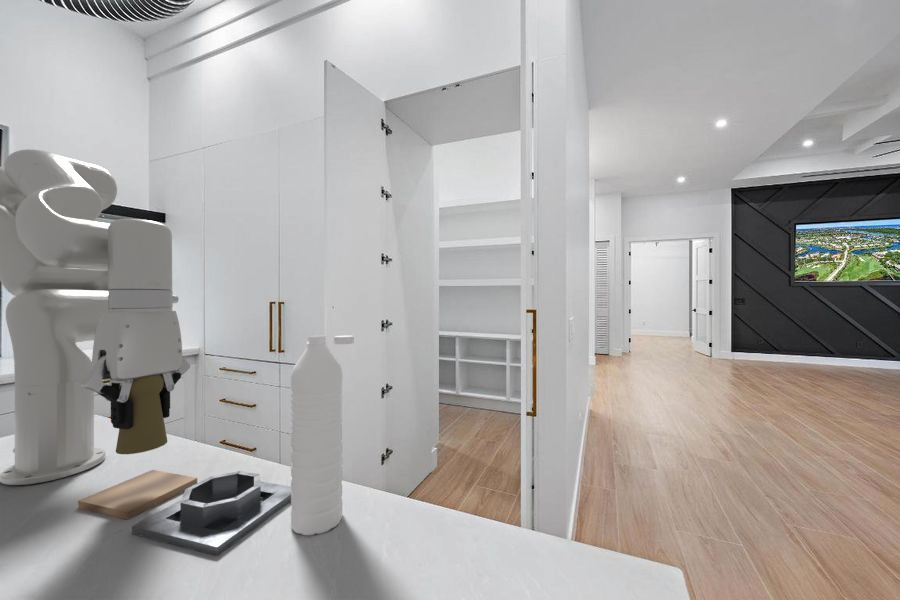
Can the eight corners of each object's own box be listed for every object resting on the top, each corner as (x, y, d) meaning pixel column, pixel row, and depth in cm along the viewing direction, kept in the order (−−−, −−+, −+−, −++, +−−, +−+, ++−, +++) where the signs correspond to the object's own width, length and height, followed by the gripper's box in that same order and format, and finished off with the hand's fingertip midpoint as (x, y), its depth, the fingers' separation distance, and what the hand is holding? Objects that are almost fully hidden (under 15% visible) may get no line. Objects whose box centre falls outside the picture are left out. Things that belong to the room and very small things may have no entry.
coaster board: (78, 507, 52) (78, 500, 52) (152, 475, 62) (152, 469, 62) (127, 519, 50) (127, 512, 50) (197, 484, 59) (197, 477, 59)
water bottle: (279, 530, 47) (279, 336, 47) (313, 504, 53) (313, 332, 53) (336, 545, 44) (336, 338, 44) (365, 515, 50) (365, 334, 51)
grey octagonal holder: (131, 533, 47) (131, 506, 47) (227, 481, 60) (227, 460, 60) (217, 555, 43) (217, 525, 43) (299, 494, 56) (299, 471, 56)
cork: (138, 455, 52) (137, 378, 52) (104, 452, 53) (104, 377, 53) (177, 440, 58) (176, 370, 58) (146, 437, 59) (146, 369, 59)
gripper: (178, 302, 65) (179, 405, 65) (52, 302, 49) (52, 440, 49) (211, 302, 63) (211, 408, 63) (90, 302, 47) (90, 445, 47)
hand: (142, 420), depth 56 cm, fingers closed on cork, 4 cm apart
